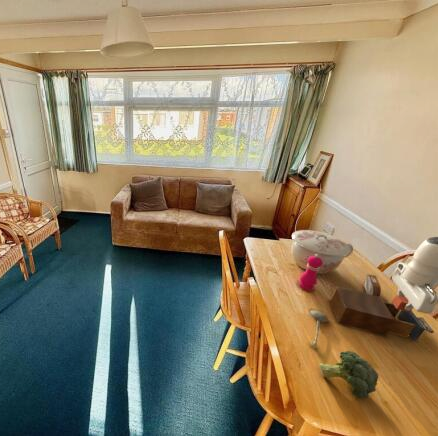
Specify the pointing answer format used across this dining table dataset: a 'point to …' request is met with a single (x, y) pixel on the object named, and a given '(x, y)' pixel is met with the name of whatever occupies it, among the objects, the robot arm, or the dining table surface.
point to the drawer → (407, 323)
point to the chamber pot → (319, 249)
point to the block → (400, 303)
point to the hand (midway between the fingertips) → (402, 304)
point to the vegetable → (353, 373)
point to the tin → (372, 285)
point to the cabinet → (362, 311)
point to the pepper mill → (310, 273)
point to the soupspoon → (318, 323)
